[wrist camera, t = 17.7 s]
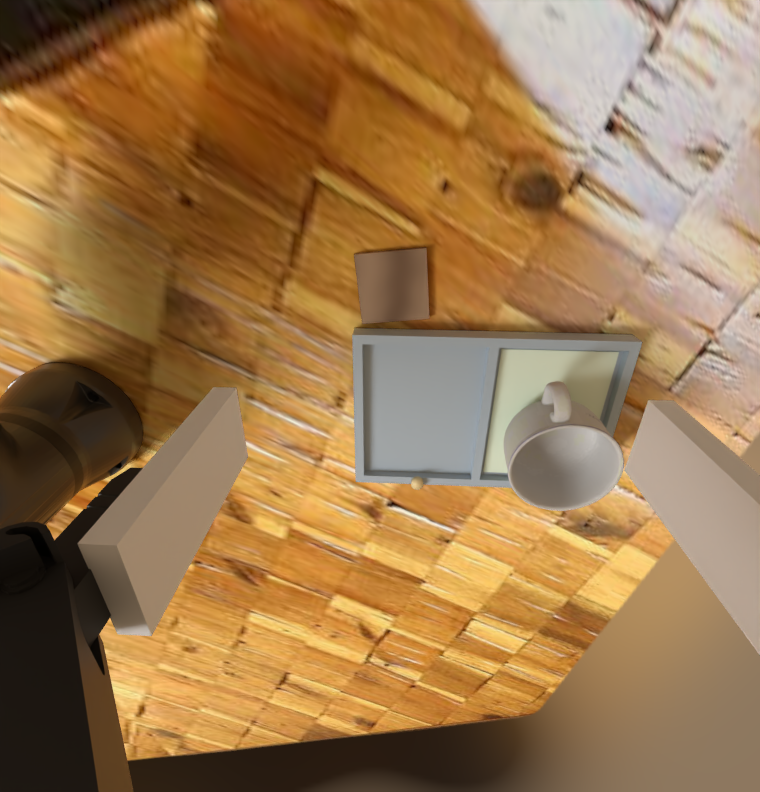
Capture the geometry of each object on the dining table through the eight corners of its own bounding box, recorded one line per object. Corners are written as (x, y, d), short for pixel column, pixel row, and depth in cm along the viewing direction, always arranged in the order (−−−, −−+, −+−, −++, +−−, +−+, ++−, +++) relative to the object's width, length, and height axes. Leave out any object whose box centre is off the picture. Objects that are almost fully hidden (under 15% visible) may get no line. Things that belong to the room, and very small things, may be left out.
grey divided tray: (357, 472, 55) (355, 487, 52) (354, 327, 46) (351, 337, 43) (588, 480, 54) (598, 496, 51) (632, 334, 45) (646, 344, 42)
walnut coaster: (363, 320, 46) (362, 323, 45) (355, 252, 43) (354, 254, 42) (428, 315, 45) (429, 318, 44) (425, 246, 42) (426, 248, 41)
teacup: (581, 467, 51) (610, 515, 44) (489, 466, 52) (503, 513, 45) (608, 359, 45) (647, 395, 38) (503, 359, 45) (521, 394, 38)
